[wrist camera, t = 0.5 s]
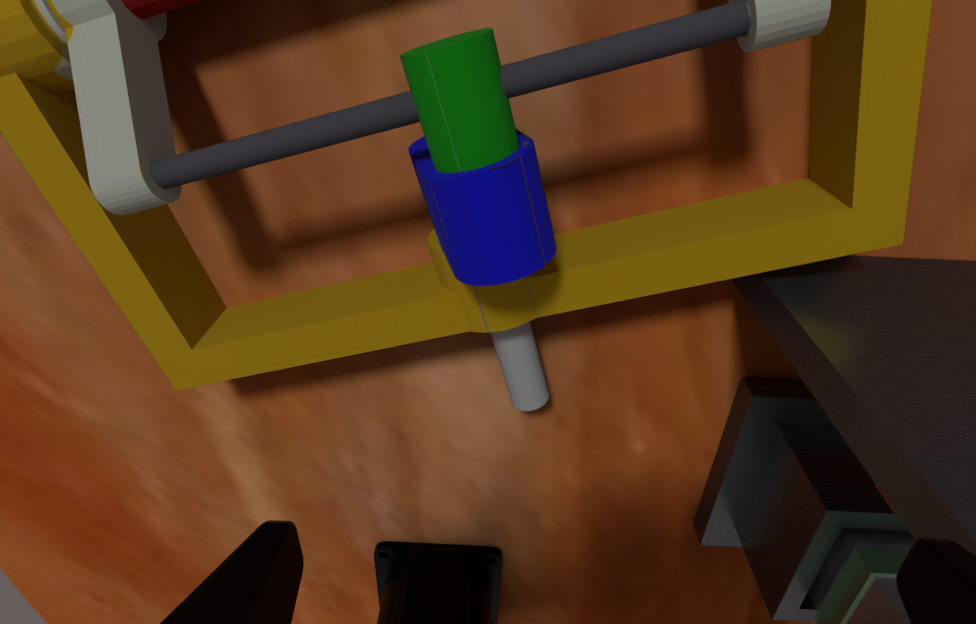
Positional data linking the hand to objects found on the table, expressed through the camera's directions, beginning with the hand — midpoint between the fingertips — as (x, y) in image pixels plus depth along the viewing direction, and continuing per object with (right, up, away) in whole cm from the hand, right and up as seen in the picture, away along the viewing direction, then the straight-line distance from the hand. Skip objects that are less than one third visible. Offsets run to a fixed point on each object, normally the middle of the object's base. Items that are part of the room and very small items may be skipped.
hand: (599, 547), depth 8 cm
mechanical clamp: (-4, +8, +12) cm, 15 cm away
